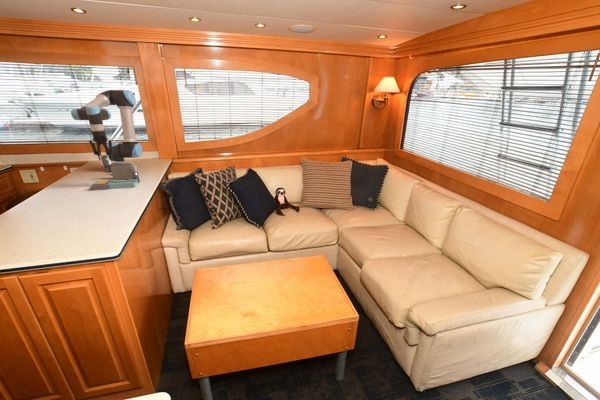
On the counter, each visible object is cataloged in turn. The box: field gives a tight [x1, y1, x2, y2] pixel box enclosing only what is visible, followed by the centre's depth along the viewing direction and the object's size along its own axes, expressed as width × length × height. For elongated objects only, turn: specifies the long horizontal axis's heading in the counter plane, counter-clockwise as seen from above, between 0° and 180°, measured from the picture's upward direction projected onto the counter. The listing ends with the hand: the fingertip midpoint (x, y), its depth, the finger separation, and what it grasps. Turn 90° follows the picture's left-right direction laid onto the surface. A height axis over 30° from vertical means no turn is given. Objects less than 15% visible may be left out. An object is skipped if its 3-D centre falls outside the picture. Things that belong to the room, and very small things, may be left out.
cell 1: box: [101, 154, 111, 169], centre depth 192 cm, size 4×4×9 cm
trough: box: [108, 179, 139, 190], centre depth 195 cm, size 8×16×4 cm, turn 104°
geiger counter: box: [105, 161, 139, 180], centre depth 209 cm, size 14×6×25 cm
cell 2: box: [131, 170, 141, 184], centre depth 203 cm, size 4×4×9 cm
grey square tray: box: [90, 179, 114, 191], centre depth 192 cm, size 10×10×4 cm
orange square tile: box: [93, 180, 109, 185], centre depth 191 cm, size 7×7×1 cm
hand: (106, 164), depth 193 cm, fingers closed on cell 1, 4 cm apart
